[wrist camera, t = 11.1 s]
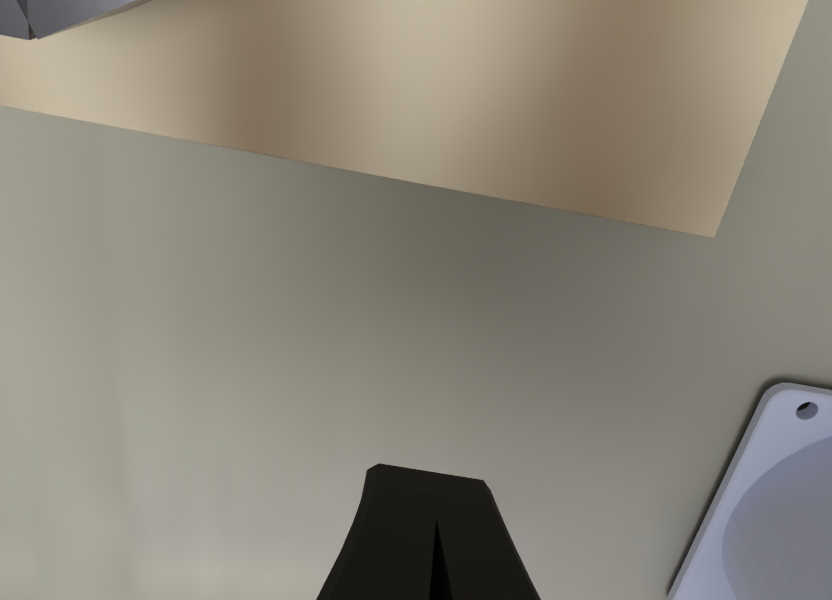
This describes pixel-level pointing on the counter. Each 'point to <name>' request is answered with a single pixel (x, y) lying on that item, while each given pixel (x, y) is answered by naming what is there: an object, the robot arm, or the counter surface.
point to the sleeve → (55, 15)
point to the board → (442, 91)
